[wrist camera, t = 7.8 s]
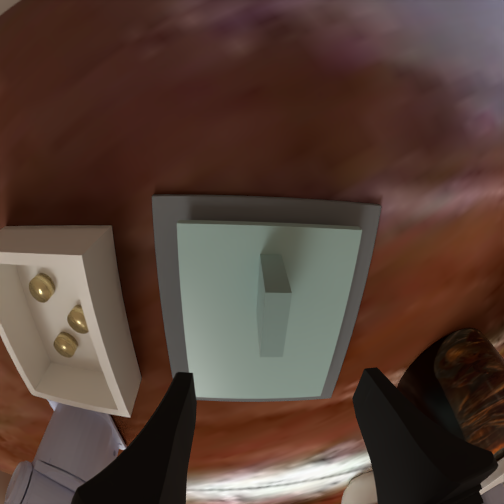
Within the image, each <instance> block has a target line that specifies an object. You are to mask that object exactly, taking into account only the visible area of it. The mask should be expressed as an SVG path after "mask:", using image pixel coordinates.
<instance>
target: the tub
mask: <svg viewBox="0 0 504 504" xmlns="http://www.w3.org/2000/svg"><path fill="white" fill-rule="evenodd" d="M38 273H44V274H46V275H48V276H49V277H50V278H51V279H52V281H53V282H54V285H55V292H54V294H53V295H52V296H51V297H50V299H49V300H48V301H47V302H45V303H41V302H39V301H37V300H36V299H35V298H34V297H33V296H32V295H31V293H30V291H29V282H30V281H31V280H32V279H33V278H34V277H35V276H36V275H37V274H38ZM75 305H81V306H82V309H83V313H84V316H85V320H86V323H87V327H88V330H89V332H88V333H86V334H81V333H78V332H76V331H74V330H73V329H72V328H71V327H70V325H69V324H68V321H67V316H68V314H69V313H70V311H71V310H72V309H73V307H74V306H75ZM60 332H67V333H69V334H71V335H72V336H73V337H74V338H75V339H76V341H77V343H78V348H77V350H76V351H75V353H74V355H73V356H72V357H70V358H67V357H64V356H62V355H60V354H59V353H58V352H57V351H56V349H55V348H54V345H53V343H54V341H55V339H56V337H57V336H58V334H59V333H60ZM0 335H1V338H2V340H3V342H4V344H5V346H6V348H7V350H8V352H9V354H10V356H11V358H12V360H13V362H14V364H15V366H16V368H17V370H18V371H19V373H20V375H21V377H22V379H23V380H24V382H25V384H26V386H27V387H28V389H29V391H30V392H31V394H32V395H34V396H38V397H41V398H44V399H48V400H51V401H55V402H59V403H62V404H66V405H70V406H74V407H79V408H83V409H87V410H92V411H97V412H102V413H107V414H112V415H118V416H124V417H131V414H132V410H133V406H134V403H135V399H136V396H137V392H138V389H139V386H140V382H141V379H142V377H141V373H140V370H139V366H138V362H137V358H136V355H135V351H134V347H133V342H132V338H131V334H130V330H129V325H128V321H127V316H126V311H125V306H124V301H123V296H122V290H121V285H120V279H119V273H118V267H117V260H116V254H115V246H114V239H113V231H112V225H62V226H5V227H4V228H2V229H0Z"/></svg>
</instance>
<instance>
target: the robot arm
mask: <svg viewBox="0 0 504 504" xmlns="http://www.w3.org/2000/svg"><path fill="white" fill-rule="evenodd" d="M47 400H48V399H47ZM48 401H49V403H50V405H51V406H52V408H53V409H54V413H53V415H52V417H51V420H50V422H49V424H48V426H47V429H46V431H45V433H44V436H43V438H42V441H41V443H40V446H39V448H38V450H37V453H36V456H35V458H34V461H33V462H31V463H30V462H29V461H24V462H20V463H19V464H18V465H17V467H16V469H15V471H14V473H13V475H12V478H11V480H10V483H9V485H8V488H7V493H6V497H5V503H4V504H186V482H187V470H188V463H189V458H190V452H191V446H192V440H193V435H194V429H195V422H196V406H197V401H196V394H195V386H194V377H193V373H189V372H177V373H176V374H175V376H174V379H173V381H172V383H171V385H170V387H169V389H168V391H167V392H166V394H165V396H164V398H163V399H162V401H161V403H160V404H159V406H158V407H157V409H156V411H155V412H154V414H153V415H152V417H151V418H150V419H149V421H148V422H147V424H146V425H145V426H144V428H143V429H142V430H141V432H140V433H139V434H138V435H137V437H136V438H135V439H134V440H133V441H132V442H131V443H130V445H129V446H128V447H126V445H125V443H124V441H123V439H122V437H121V435H120V434H119V432H118V430H117V428H116V426H115V424H114V422H113V420H112V418H111V416H110V414H107V413H102V412H97V411H92V410H87V409H83V408H79V407H74V406H70V405H66V404H62V403H59V402H55V401H51V400H48ZM353 404H354V409H355V414H356V418H357V421H358V424H359V427H360V430H361V433H362V436H363V439H364V442H365V445H366V448H367V451H368V454H369V457H370V460H371V464H372V469H373V474H374V479H375V486H376V493H377V502H378V504H504V486H503V484H502V483H500V484H498V485H496V486H495V487H493V488H491V489H490V490H488V491H486V492H485V493H483V494H482V495H481V494H480V492H479V491H480V490H482V486H481V484H480V483H481V482H483V481H484V480H485V479H486V478H488V477H489V476H490V475H491V474H492V473H493V472H494V471H495V470H496V469H497V468H498V463H497V461H496V459H495V457H494V455H493V453H492V452H491V451H488V450H486V449H483V448H480V447H477V446H475V445H472V444H470V443H468V442H466V441H464V440H462V439H460V438H458V437H456V436H455V435H453V434H451V433H450V432H448V431H446V430H445V429H443V428H442V427H440V426H439V425H438V424H436V423H435V422H434V421H432V420H431V419H429V418H428V417H427V416H426V415H425V414H423V413H422V412H421V411H420V410H419V409H418V408H417V407H415V406H414V405H413V404H412V403H411V402H410V401H409V400H408V399H407V398H406V397H405V396H404V395H403V394H402V393H401V392H400V391H399V390H398V389H397V388H396V387H395V386H394V385H393V384H392V383H391V382H390V381H389V380H388V378H387V377H386V376H385V375H384V374H383V373H382V372H381V371H380V370H379V369H378V368H377V367H376V368H367V369H364V371H363V374H362V376H361V379H360V381H359V384H358V386H357V389H356V391H355V393H354V396H353ZM119 449H122V450H124V451H123V452H122V453H121V454H120V455H119V456H118V457H117V454H118V450H119Z"/></svg>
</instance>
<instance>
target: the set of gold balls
mask: <svg viewBox="0 0 504 504" xmlns="http://www.w3.org/2000/svg"><path fill="white" fill-rule="evenodd" d="M29 291H30V293H31V295H32V296H33V297H34V298H35V299H36V300H37V301H39V302H41V303H45V302H47V301H48V300H49V299H50V297H51V296H52V295H53V294H54V292H55V285H54V282H53V281H52V279H51V278H50V277H49V276H48V275H46V274H44V273H38V274H37V275H36V276H35V277H34V278H33V279H32V280H31V281H30V282H29ZM67 321H68V324H69V325H70V327H71V328H72V329H73V330H74V331H76V332H78V333H81V334H86V333H88V332H89V330H88V327H87V323H86V320H85V316H84V313H83V309H82V306H81V305H75V306H74V307H73V309H72V310H71V311H70V313H69V314H68V316H67ZM53 345H54V348H55V349H56V351H57V352H58V353H59V354H60V355H62V356H64V357H67V358H70V357H72V356H73V355H74V353H75V351H76V350H77V348H78V343H77V341H76V339H75V338H74V337H73V336H72V335H71V334H69V333H67V332H60V333H59V334H58V336H57V337H56V339H55V341H54V343H53Z"/></svg>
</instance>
